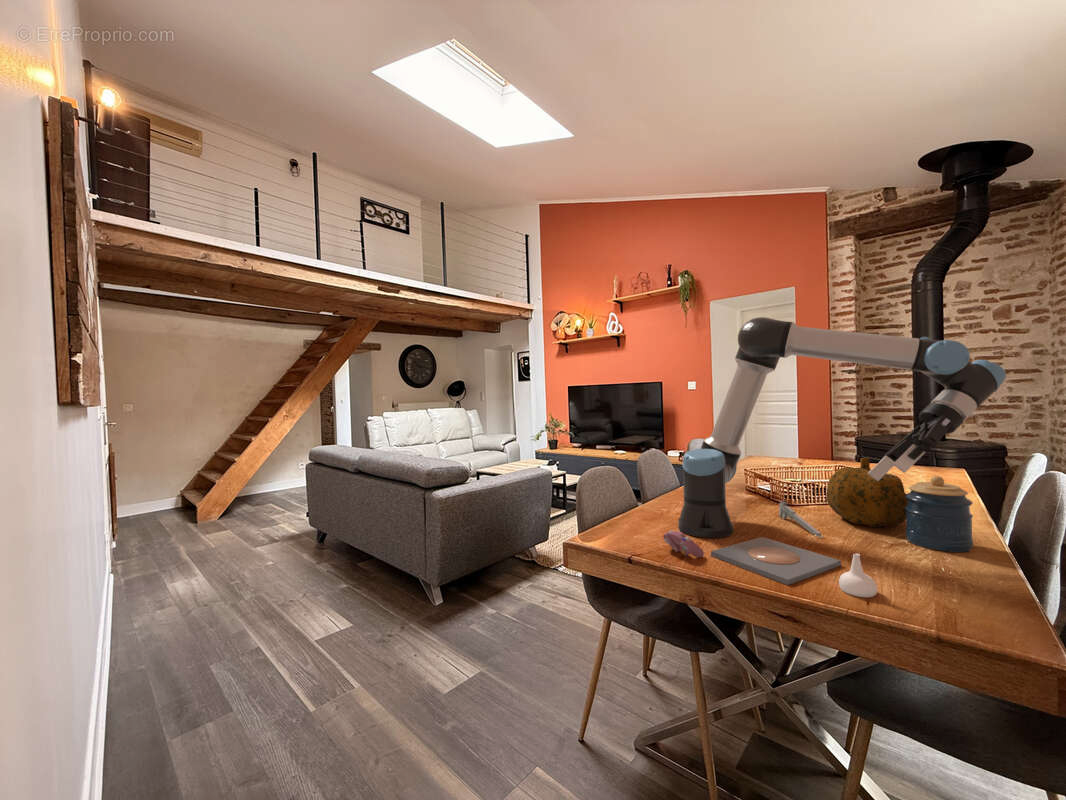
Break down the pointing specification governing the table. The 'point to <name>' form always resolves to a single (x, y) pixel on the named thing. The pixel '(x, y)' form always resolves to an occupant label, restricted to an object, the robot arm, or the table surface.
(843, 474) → the decorative pumpkin
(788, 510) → the caliper
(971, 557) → the table surface
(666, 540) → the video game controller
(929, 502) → the canister
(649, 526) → the table surface
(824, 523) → the table surface
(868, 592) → the garlic bulb
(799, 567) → the slate board
